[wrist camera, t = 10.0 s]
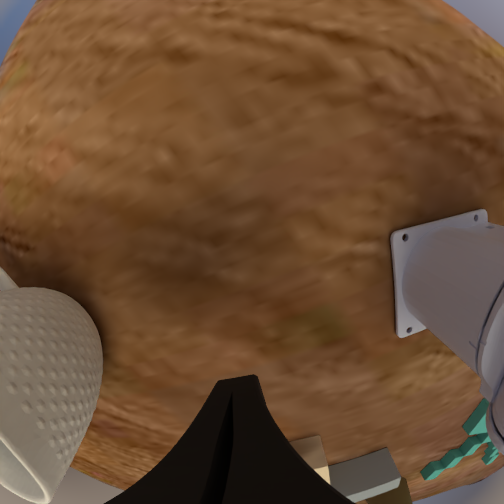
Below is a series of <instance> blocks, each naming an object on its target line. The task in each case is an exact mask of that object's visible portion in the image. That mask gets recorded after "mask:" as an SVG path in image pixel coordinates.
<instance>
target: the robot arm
mask: <svg viewBox="0 0 504 504" xmlns="http://www.w3.org/2000/svg"><path fill="white" fill-rule="evenodd" d="M474 216H475V220H474ZM404 234H405V235H406V238H405V240H403V239H402V236H403V235H404ZM390 241H391V250H392V260H393V272H394V287H395V308H396V334H397V335H398V336H399V337H400V338H404V337H406V336H409V335H411V334H414V333H417V332H419V331H422V330H424V329H429V330H430V331H431V332H432V333H433V334H434V335H435V336H436V337H437V338H439V339H440V340H441V341H442V342H443V343H444V344H445V345H446V346H447V347H448V348H450V349H451V350H452V351H453V352H454V353H455V354H456V355H457V356H458V357H459V358H460V359H461V360H462V361H464V362H465V363H466V364H467V365H468V366H469V367H470V368H471V369H472V370H473V371H474V372H475V373H476V374H477V375H478V376H479V377H480V378H481V387H480V390H479V392H480V393H481V394H482V395H483V396H484V397H485V398H486V399H487V400H488V402H489V406H488V408H487V412H486V429H487V433H488V435H489V438H490V440H491V441H492V443H493V445H494V446H495V447H496V448H497V449H498V451H499V452H501V453H502V454H503V455H504V226H501V225H497V224H493V223H489V222H488V217H487V212H486V210H485V209H479V210H475V211H471V212H467V213H463V214H460V215H456V216H452V217H448V218H444V219H440V220H437V221H433V222H429V223H425V224H421V225H417V226H413V227H409V228H405V229H401V230H397V231H395V232H393V233H392V235H391V238H390ZM409 327H410V328H409ZM408 328H409V330H407V329H408ZM104 504H355V503H354V502H352V501H351V500H350V499H348V498H347V497H345V496H344V495H343V494H341V493H340V492H339V491H337V490H336V489H335V488H334V487H332V486H331V485H330V484H329V483H328V482H326V481H325V480H324V479H323V478H322V477H321V476H320V475H319V474H318V473H317V472H316V471H315V470H314V469H313V468H311V467H310V466H309V465H308V464H307V463H306V462H305V460H304V459H303V458H302V457H301V456H300V455H299V454H298V453H297V451H296V450H295V449H294V448H293V447H292V445H291V444H290V443H289V441H288V440H287V439H286V437H285V436H284V435H283V433H282V432H281V430H280V429H279V427H278V426H277V424H276V423H275V421H274V419H273V418H272V416H271V414H270V412H269V410H268V408H267V406H266V402H265V399H264V396H263V393H262V389H261V386H260V383H259V379H258V376H256V375H254V374H253V375H248V376H242V377H237V378H231V379H225V380H219V381H218V382H217V383H216V385H215V386H214V388H213V390H212V391H211V393H210V395H209V397H208V398H207V400H206V402H205V403H204V405H203V407H202V408H201V410H200V411H199V413H198V414H197V416H196V418H195V419H194V421H193V422H192V424H191V425H190V426H189V428H188V429H187V430H186V432H185V433H184V434H183V436H182V437H181V438H180V440H179V441H178V442H177V444H176V445H175V446H174V447H173V448H172V449H171V451H170V452H169V453H168V454H167V455H166V456H165V457H164V458H163V459H162V460H161V461H160V462H159V463H158V464H157V465H156V466H155V467H154V468H153V469H152V470H151V471H149V472H148V473H147V474H146V475H145V476H144V477H142V478H141V479H140V480H139V481H137V482H136V483H135V484H134V485H132V486H131V487H129V488H128V489H127V490H125V491H124V492H122V493H121V494H119V495H118V496H116V497H114V498H113V499H111V500H109V501H107V502H106V503H104Z"/></svg>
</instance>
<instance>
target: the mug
mask: <svg viewBox="0 0 504 504" xmlns="http://www.w3.org/2000/svg"><path fill="white" fill-rule="evenodd" d="M0 290H1V291H0V484H1V485H2V486H4V487H5V488H7V489H8V490H10V491H11V492H13V493H15V494H17V495H18V496H20V497H22V498H24V499H26V500H28V501H31V502H33V503H37V504H47V503H50V501H51V500H52V498H53V496H54V494H55V492H56V490H57V488H58V486H59V484H60V482H61V480H62V479H63V477H64V476H65V473H66V471H67V469H68V468H69V466H70V463H71V462H72V460H73V457H74V456H75V453H76V452H77V450H78V447H79V446H80V443H81V441H82V439H83V437H84V436H85V432H86V431H87V427H88V426H89V425H90V421H91V420H92V415H93V412H94V410H95V408H96V404H97V399H98V397H99V396H98V395H99V390H100V385H101V381H102V378H101V377H102V374H103V354H102V345H101V340H100V336H99V333H98V330H97V328H96V326H95V324H94V322H93V320H92V319H91V317H90V316H89V314H88V313H87V312H86V311H85V309H84V308H83V307H82V306H81V305H80V304H79V303H78V302H76V301H75V300H74V299H72V298H71V297H69V296H68V295H66V294H64V293H61V292H58V291H55V290H51V289H46V288H38V287H30V288H27V287H22V288H19V287H18V286H17V285H16V284H15V282H14V281H13V280H12V279H11V278H10V277H9V275H8V274H7V273H6V272H5V271H4V270H3V269H2V268H1V267H0Z"/></svg>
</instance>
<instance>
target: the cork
mask: <svg viewBox="0 0 504 504" xmlns="http://www.w3.org/2000/svg"><path fill="white" fill-rule="evenodd" d="M366 501H367V503H368V504H412V500H411V496H410V492H409V488H408V485H407V481H406V479H405V478H401V480H400V483H399V486H398V487H397V488H394V489H392V490H389V491H387V492H384V493H381V494H379V495H376V496H373V497H370V498H367V499H366Z"/></svg>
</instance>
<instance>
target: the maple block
mask: <svg viewBox="0 0 504 504" xmlns="http://www.w3.org/2000/svg"><path fill="white" fill-rule="evenodd" d="M289 443H290V444H291V445H292V447H293V448H294V449H295V450H296V451H297V453H298V454H299V455H300V456H301V457H302V458H303V459H304V460H305V462H306V463H307V464H308V465H309V466H310V467H311V468H313V469H314V470H315V471H316V472H317V473H318V474H319V475H320V476H321V477H322V478H323V479H324V480H325V481H326V482H328V483H329V484H330V477H329V469H328V464H327V460H326V456H325V453H324V449H323V445H322V442H321V438H320V435H317V436H313V437H309V438H305V439H301V440H296V441H291V442H289Z"/></svg>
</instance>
